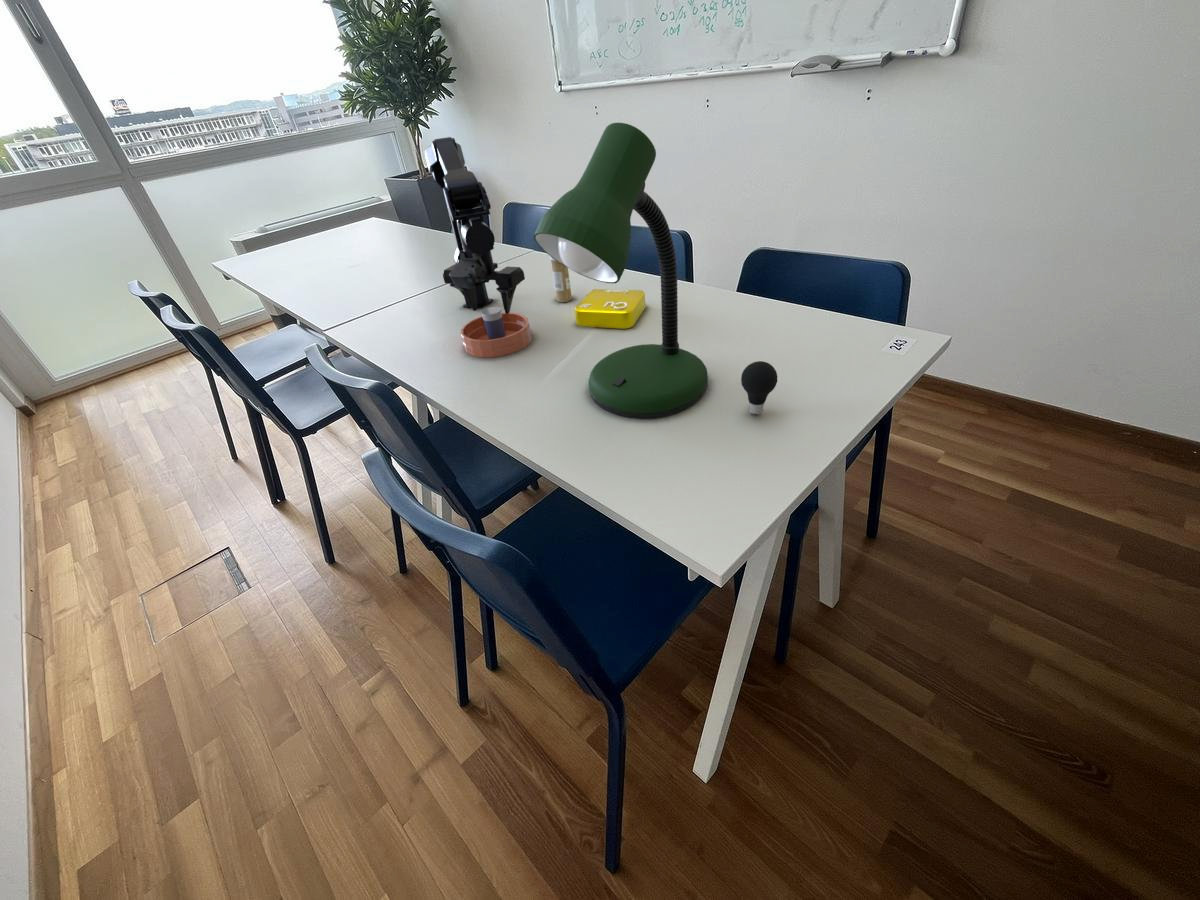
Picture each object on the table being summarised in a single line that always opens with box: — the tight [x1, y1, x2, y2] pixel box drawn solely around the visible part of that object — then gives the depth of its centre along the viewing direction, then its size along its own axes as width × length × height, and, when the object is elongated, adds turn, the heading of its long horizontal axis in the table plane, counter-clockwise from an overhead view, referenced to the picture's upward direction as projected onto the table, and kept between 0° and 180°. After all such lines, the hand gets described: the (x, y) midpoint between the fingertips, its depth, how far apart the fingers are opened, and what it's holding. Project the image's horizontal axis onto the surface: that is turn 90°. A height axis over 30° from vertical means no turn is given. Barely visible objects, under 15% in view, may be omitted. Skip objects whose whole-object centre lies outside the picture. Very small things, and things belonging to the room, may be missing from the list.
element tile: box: [574, 288, 646, 330], centre depth 130 cm, size 15×15×5 cm
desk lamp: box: [533, 122, 709, 420], centre depth 86 cm, size 31×23×45 cm
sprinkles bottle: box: [549, 255, 573, 303], centre depth 140 cm, size 5×5×13 cm
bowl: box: [460, 312, 533, 359], centre depth 124 cm, size 16×16×4 cm
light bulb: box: [740, 360, 778, 416], centre depth 88 cm, size 6×6×10 cm
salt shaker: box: [481, 306, 506, 340], centre depth 122 cm, size 5×5×8 cm
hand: (491, 311), depth 120 cm, fingers open, 9 cm apart
